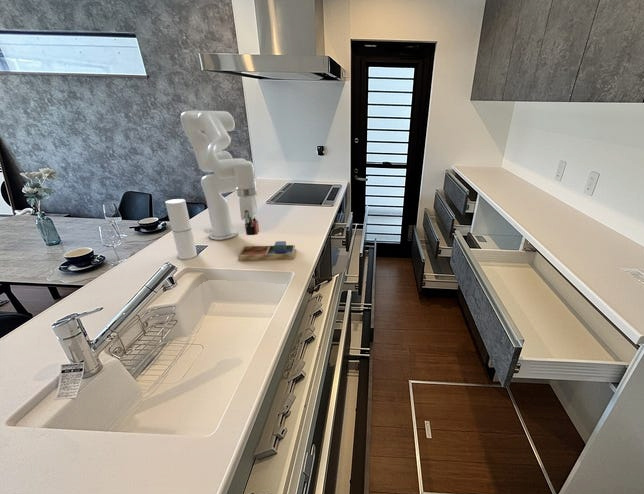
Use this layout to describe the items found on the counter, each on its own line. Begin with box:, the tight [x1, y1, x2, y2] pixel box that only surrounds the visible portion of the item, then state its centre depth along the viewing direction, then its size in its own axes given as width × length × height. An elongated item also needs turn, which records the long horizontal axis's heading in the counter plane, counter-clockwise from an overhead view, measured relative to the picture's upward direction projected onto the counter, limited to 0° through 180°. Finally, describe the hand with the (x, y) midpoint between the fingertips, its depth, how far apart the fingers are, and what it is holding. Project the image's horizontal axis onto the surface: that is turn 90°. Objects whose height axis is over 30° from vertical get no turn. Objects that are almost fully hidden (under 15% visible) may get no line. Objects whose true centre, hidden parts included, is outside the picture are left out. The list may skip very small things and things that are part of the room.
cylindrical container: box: [164, 198, 198, 260], centre depth 130 cm, size 7×7×25 cm
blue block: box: [273, 240, 287, 254], centre depth 137 cm, size 4×4×5 cm
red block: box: [244, 220, 260, 236], centre depth 132 cm, size 4×4×5 cm
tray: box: [237, 244, 296, 262], centre depth 137 cm, size 23×10×2 cm, turn 98°
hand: (252, 232), depth 133 cm, fingers closed on red block, 4 cm apart
